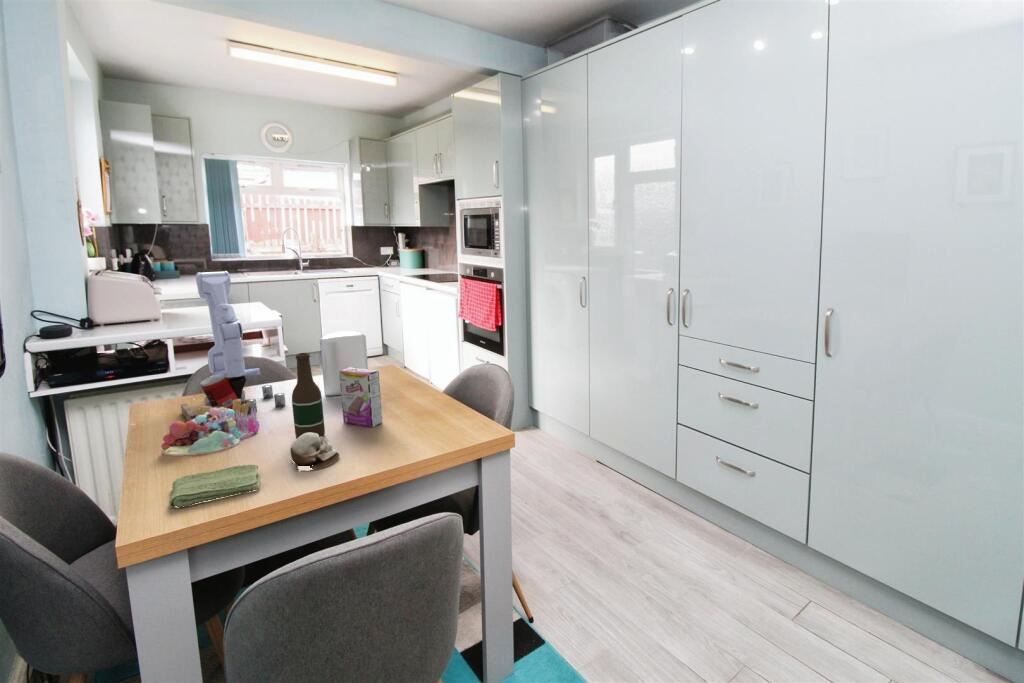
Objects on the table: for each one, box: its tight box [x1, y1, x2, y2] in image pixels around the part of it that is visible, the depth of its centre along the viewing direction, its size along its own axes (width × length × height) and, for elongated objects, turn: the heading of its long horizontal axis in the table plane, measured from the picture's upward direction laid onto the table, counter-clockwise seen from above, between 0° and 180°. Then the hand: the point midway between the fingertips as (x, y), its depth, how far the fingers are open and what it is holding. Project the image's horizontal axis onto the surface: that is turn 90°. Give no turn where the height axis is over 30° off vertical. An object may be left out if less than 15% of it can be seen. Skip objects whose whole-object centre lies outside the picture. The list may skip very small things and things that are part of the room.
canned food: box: [200, 373, 238, 409], centre depth 175 cm, size 8×8×11 cm
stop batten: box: [180, 403, 197, 421], centre depth 170 cm, size 16×2×3 cm, turn 40°
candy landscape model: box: [160, 399, 260, 457], centre depth 153 cm, size 25×24×9 cm
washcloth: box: [168, 464, 261, 508], centre depth 122 cm, size 13×18×3 cm
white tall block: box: [319, 330, 369, 397], centre depth 196 cm, size 15×14×22 cm
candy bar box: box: [339, 367, 383, 428], centre depth 161 cm, size 11×5×16 cm, turn 65°
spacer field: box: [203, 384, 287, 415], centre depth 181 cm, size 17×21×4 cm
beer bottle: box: [291, 352, 326, 440], centre depth 150 cm, size 8×8×24 cm
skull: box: [290, 432, 340, 471], centre depth 136 cm, size 12×10×10 cm
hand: (239, 399), depth 179 cm, fingers closed, pressing on canned food
